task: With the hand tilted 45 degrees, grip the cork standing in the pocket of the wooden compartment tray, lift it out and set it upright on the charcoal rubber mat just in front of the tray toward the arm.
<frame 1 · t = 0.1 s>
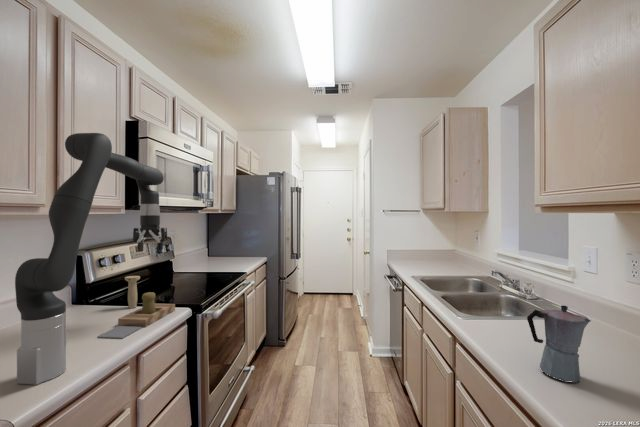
hand: (150, 251, 127), 29 cm above the worktop, tool pointing down, fingers open, 8 cm apart
cork: (148, 318, 127), resting in wooden compartment tray
wooden compartment tray: (148, 317, 127), on the worktop
rubber mat: (120, 332, 111), on the worktop
handle: (132, 307, 140), on the worktop
moka pot: (558, 376, 82), on the worktop
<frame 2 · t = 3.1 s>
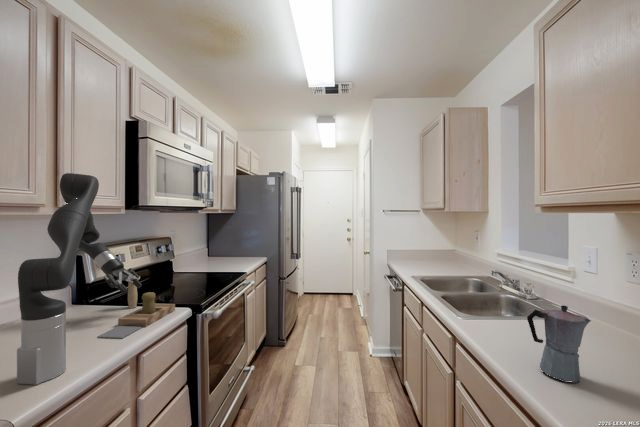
hand: (133, 289, 127), 12 cm above the worktop, tool tilted 45°, fingers open, 8 cm apart
nothing on the worktop moved.
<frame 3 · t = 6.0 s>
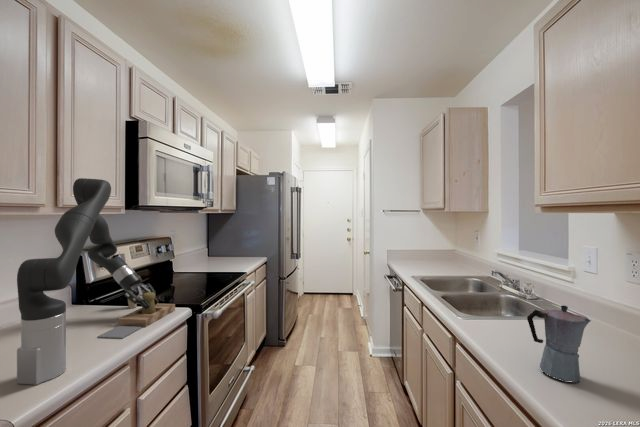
hand: (152, 305, 127), 5 cm above the worktop, tool tilted 45°, fingers closed on cork, 5 cm apart
cork: (148, 318, 127), resting in wooden compartment tray, touching gripper
everything else where it was.
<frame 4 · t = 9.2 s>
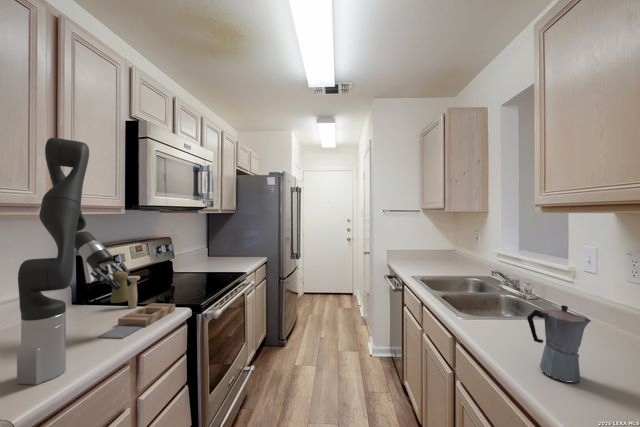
hand: (124, 286, 111), 18 cm above the worktop, tool tilted 45°, fingers closed on cork, 5 cm apart
cork: (120, 300, 111), point 12 cm above the worktop, touching gripper
everything else where it was.
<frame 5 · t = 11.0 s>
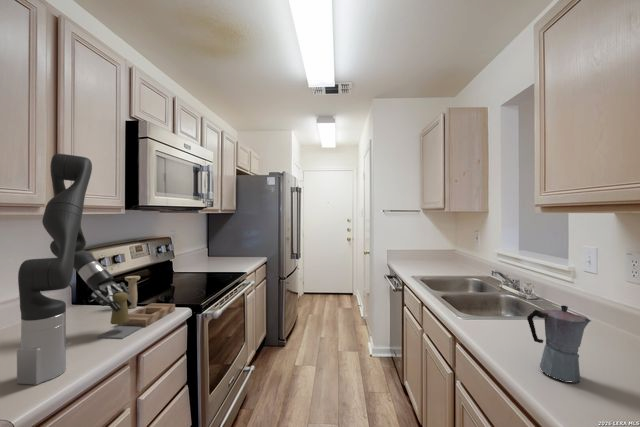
hand: (124, 307, 111), 10 cm above the worktop, tool tilted 45°, fingers closed on cork, 5 cm apart
cork: (120, 321, 111), point 4 cm above the worktop, touching gripper
everything else where it was.
when the fingers open (7 cm above the worktop, at t = 12.6 s): cork drops 1 cm, resting on rubber mat.
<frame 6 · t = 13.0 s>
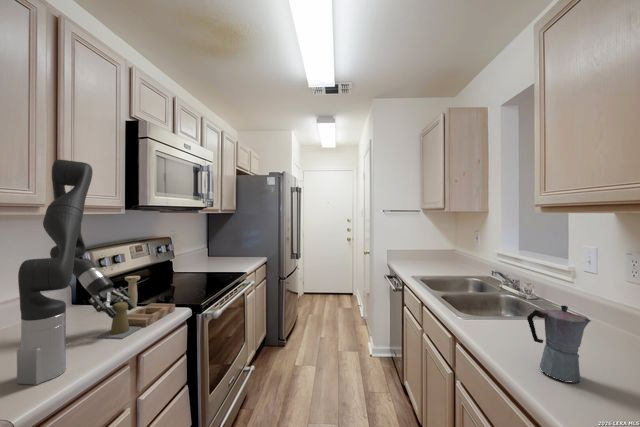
hand: (123, 312, 111), 8 cm above the worktop, tool tilted 45°, fingers open, 8 cm apart
cork: (120, 331, 111), resting on rubber mat
everything else where it was.
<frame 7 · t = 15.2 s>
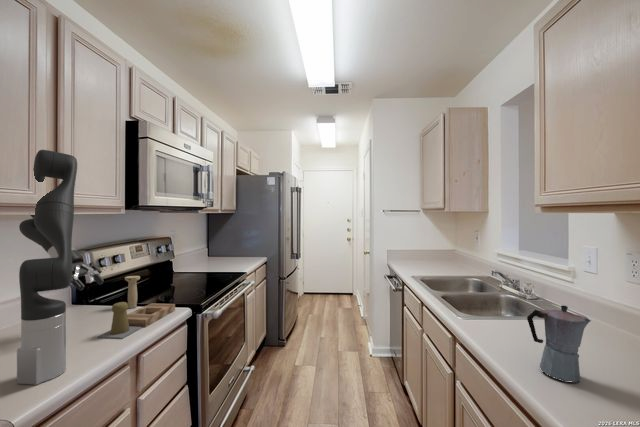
hand: (92, 285, 112), 18 cm above the worktop, tool tilted 45°, fingers open, 8 cm apart
nothing on the worktop moved.
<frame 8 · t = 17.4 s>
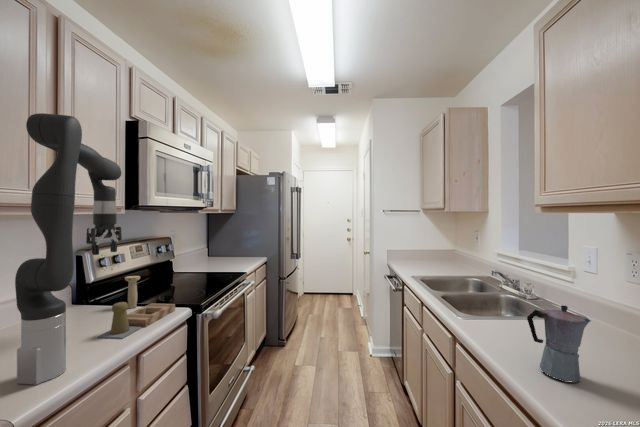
hand: (105, 253, 115), 30 cm above the worktop, tool pointing down, fingers open, 8 cm apart
nothing on the worktop moved.
at the end: cork inside the target area on the rubber mat (0.2 cm from its centre), point 0.3 cm above the rubber mat's base; cork tilted 0°; the gripper is holding nothing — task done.
